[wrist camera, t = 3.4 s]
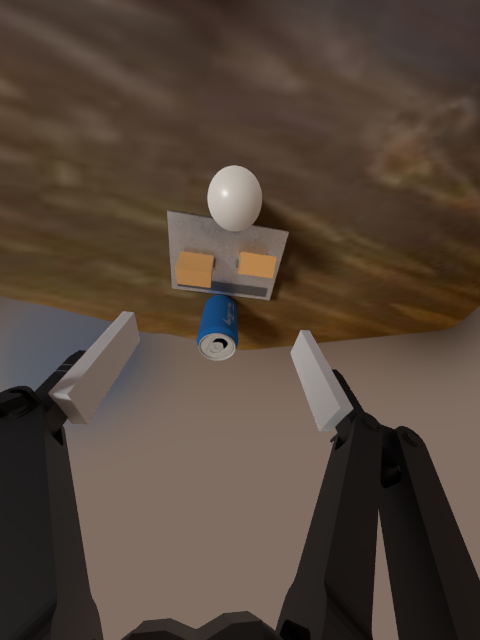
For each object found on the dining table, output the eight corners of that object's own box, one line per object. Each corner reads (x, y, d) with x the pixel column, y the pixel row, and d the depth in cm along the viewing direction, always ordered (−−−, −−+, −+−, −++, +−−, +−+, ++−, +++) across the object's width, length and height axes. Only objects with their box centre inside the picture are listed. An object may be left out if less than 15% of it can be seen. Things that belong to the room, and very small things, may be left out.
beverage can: (242, 304, 37) (247, 345, 27) (224, 324, 40) (221, 367, 30) (217, 286, 34) (211, 324, 25) (199, 309, 37) (187, 351, 27)
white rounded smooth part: (216, 170, 24) (200, 145, 11) (254, 178, 25) (278, 162, 12) (214, 214, 27) (198, 233, 14) (247, 220, 28) (261, 244, 15)
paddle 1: (179, 248, 27) (172, 267, 25) (216, 253, 28) (213, 273, 25) (181, 264, 30) (175, 283, 27) (215, 268, 31) (212, 288, 28)
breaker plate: (171, 209, 27) (166, 210, 25) (285, 229, 29) (289, 232, 27) (175, 283, 34) (171, 288, 32) (267, 295, 36) (269, 300, 34)
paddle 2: (237, 254, 29) (240, 251, 25) (270, 259, 30) (278, 257, 26) (235, 272, 30) (237, 273, 26) (267, 277, 31) (274, 278, 26)
